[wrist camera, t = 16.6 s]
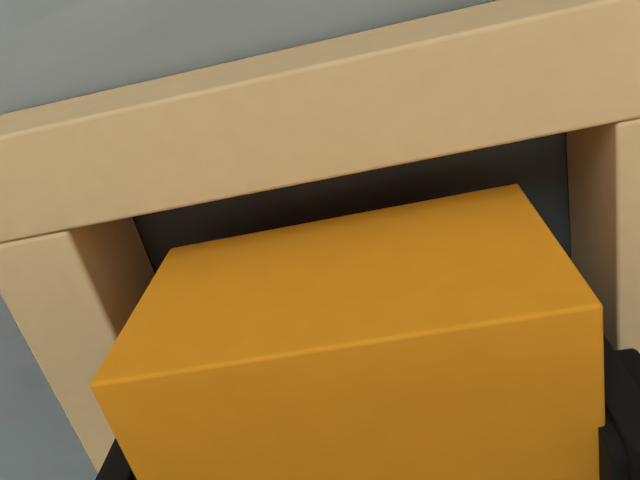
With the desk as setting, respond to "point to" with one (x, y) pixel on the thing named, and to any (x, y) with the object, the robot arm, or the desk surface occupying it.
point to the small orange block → (365, 352)
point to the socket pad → (312, 158)
